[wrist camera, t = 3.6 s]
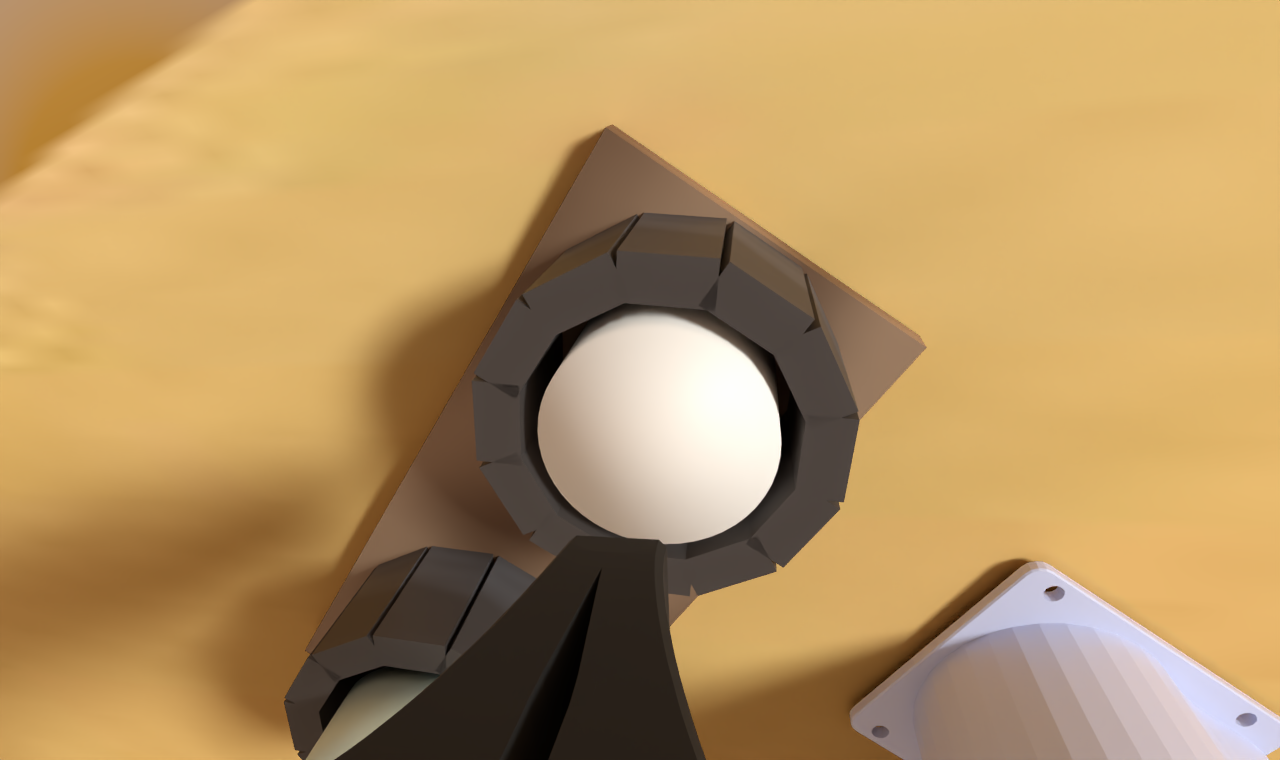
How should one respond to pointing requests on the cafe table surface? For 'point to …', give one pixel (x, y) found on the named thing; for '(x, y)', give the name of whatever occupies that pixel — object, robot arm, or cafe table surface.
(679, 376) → the peg cream
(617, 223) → the collar board
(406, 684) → the peg sage
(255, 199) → the cafe table surface
